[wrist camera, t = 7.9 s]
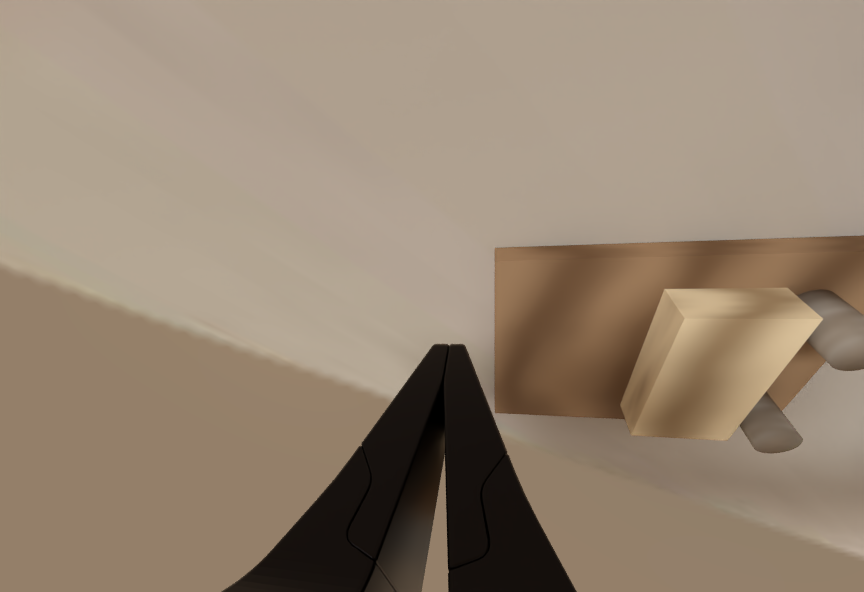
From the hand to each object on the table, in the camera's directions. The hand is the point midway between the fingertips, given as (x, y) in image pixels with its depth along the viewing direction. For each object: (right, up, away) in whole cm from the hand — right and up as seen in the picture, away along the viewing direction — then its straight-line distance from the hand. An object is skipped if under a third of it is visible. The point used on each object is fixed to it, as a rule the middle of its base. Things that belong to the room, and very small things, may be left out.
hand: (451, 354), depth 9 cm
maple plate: (+16, -2, +13) cm, 21 cm away
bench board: (+14, -1, +14) cm, 20 cm away
